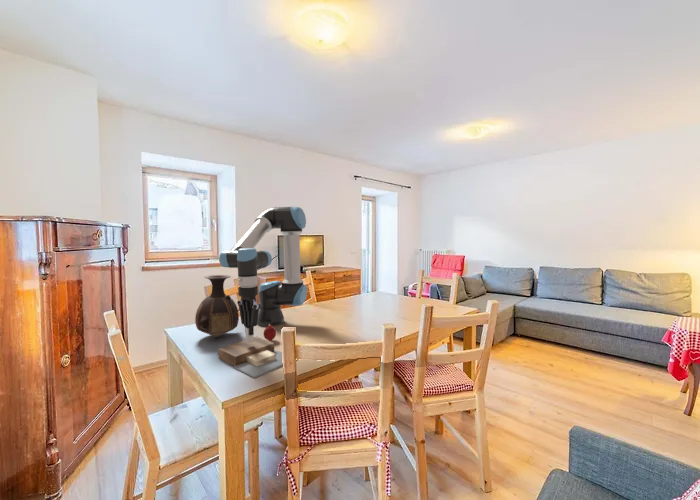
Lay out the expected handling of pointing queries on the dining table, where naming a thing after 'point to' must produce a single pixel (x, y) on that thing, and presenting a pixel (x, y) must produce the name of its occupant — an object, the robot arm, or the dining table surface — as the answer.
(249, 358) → the tile
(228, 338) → the dining table surface
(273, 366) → the mat
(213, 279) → the vase
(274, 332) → the onion
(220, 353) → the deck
